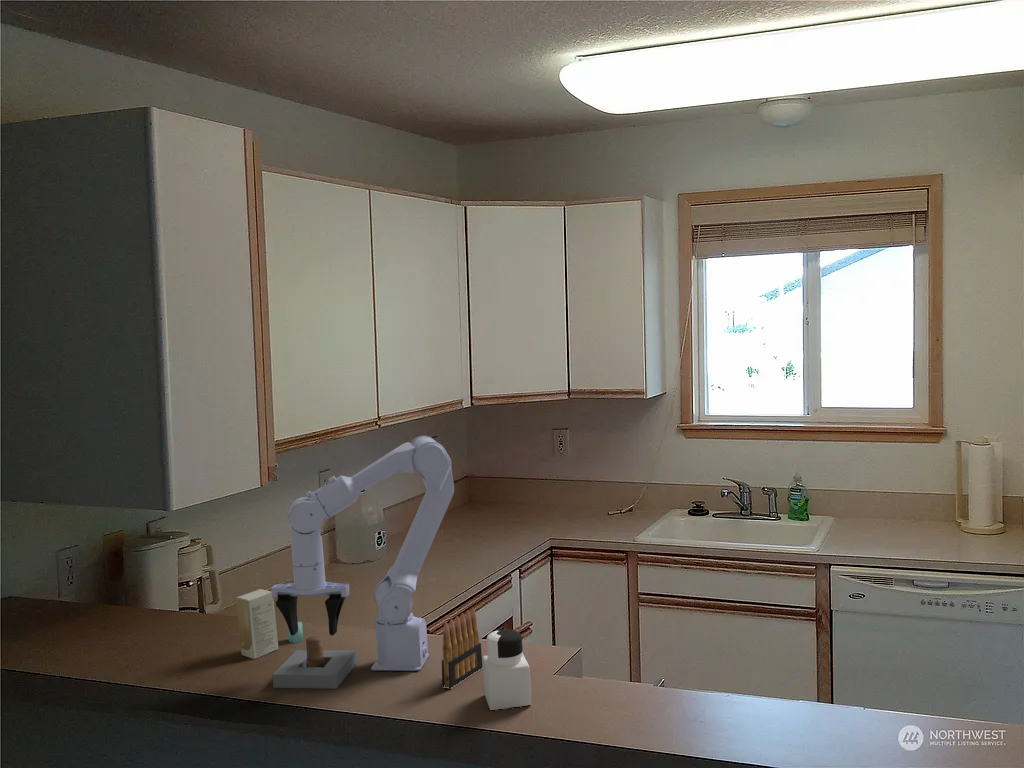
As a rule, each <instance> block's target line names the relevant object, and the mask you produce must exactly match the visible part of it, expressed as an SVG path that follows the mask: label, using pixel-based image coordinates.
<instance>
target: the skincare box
mask: <svg viewBox="0 0 1024 768" xmlns="http://www.w3.org/2000/svg"><path fill="white" fill-rule="evenodd" d="M235 599H236V609H237V620H238V630H239V640H240V651H241V655H242V656H244V657H247V658H249V659H253V660H255V659H258V658H260V657H262V656H264V655H268V654H270V653H272V652H274V651H276V650H279V642H278V629H277V622H276V621H277V619H276V610H275V602H274V601H275V598H272V590H271V591H270V590H266V589H262V588H259V589H256V590H254V591H251V592H247V593H244V594H243V595H239V596H236V598H235Z"/></svg>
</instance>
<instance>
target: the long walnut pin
mask: <svg viewBox="0 0 1024 768" xmlns="http://www.w3.org/2000/svg"><path fill="white" fill-rule="evenodd" d="M305 643H306V644H305V645H306V648H305V650H307V663H308V667H321V668H324V658H323V650H324V646H323V637H322V636H319V635H314V636H309V637H306V639H305Z"/></svg>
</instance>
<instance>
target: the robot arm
mask: <svg viewBox="0 0 1024 768" xmlns="http://www.w3.org/2000/svg"><path fill="white" fill-rule="evenodd" d="M449 455H450V454H448V452H447V451H446V449H445V447H444V446H443V445H442V444H440V443H439V442H437V441H436V440H435V439H434V438H432V437H431V436H428V435H420V436H417V437H415V438H413V439H412V440H411V441H407V442H405V443H404V442H403V444H401V445H399V446H397V447H396V448H394V449H393V450H391V451H390V452H387V453H386V454H384V456H382V457H380V458H379V459H377V460H375V461H373V462H372V463H370V464H369V465H368V466H366V467H364V468H363V469H361V470H360V471H359V472H357V473H355V474H354V475H352V476H345V475H339V476H338V477H335V475H333V476H331V477H330V478H328V482H327V483H326V484H324V485H322V486H320V487H319V488H318V489H316V490H314V491H311V490H310V491H309V490H308V492H306V493H305V495H306V496H305V497H299V498H297V499H295V500H294V501H292V503H290V504H291V505H289V508H288V512H287V517H288V519H289V524H290V525H291V529H290V537H291V539H290V547H291V560H292V570H293V571H292V572H293V583H292V582H291V583H290V582H289V583H283V584H274V585H273V586H272V587H270V590H271V592H272V598H274V599H276V598H277V600H276V601H275V606H276V607H277V609H278V610H279V611H280V612H281V614H282V616H283V618H284V620H285V623H286V626H287V625H288V626H287V629H288V628H289V631H290V634H291V635H295V634H296V633H297V632H298V622H299V621H298V597H328V598H326V599H325V600H324V605H325V608H326V613H327V618H328V633H329V636H335V634H337V632H338V622H339V618H340V614H341V610H342V608H343V605H344V603H345V600H346V598H347V597H348V596H349V595H350V583H340V582H330V581H326V571H325V560H324V559H325V558H324V546H323V537H322V535H321V524H322V523H323V520H328V519H330V518H332V517H333V516H335V515H337V514H338V513H340V512H341V511H344V510H345V509H346V508H349V507H350V506H352V505H353V504H355V503H357V501H358V497H359V495H360V493H361V492H362V491H364V490H366V489H368V488H369V487H371V486H374V485H376V484H377V483H379V482H381V481H383V480H384V479H386V478H388V477H390V476H391V475H393V474H396V473H407V474H409V473H410V474H414V473H415V470H414V468H415V469H416V470H417V471H418V473H419V474H420V476H421V477H420V478H421V479H422V481H423V484H424V485H425V486H424V487H425V488H426V491H425V492H424V496H423V497H422V500H421V502H420V504H419V507H418V510H417V512H416V514H415V516H414V518H413V519H412V523H411V525H410V527H409V529H408V532H407V534H406V537H405V539H404V541H403V543H402V545H401V547H400V550H399V552H398V554H397V557H396V559H395V561H394V563H393V565H392V566H391V567H390V568H389V569H388V570H387V572H386V575H385V576H384V578H383V579H381V581H379V582H378V583H377V584H376V586H375V588H374V591H373V598H374V601H375V603H376V605H377V607H378V610H377V613H376V614H375V617H374V623H375V636H376V637H375V638H376V639H375V640H376V650H377V651H376V652H377V653H376V654H377V655H376V656H377V659H376V661H375V662H374V663H373V665H372V666H371V668H370V669H371V671H404V672H405V671H407V672H408V671H412V672H413V671H415V672H418V671H420V670H421V669H422V667H423V666H424V665H425V662H426V661H427V660H428V658H429V656H430V654H429V649H428V648H429V647H428V633H427V631H428V630H427V622H426V620H425V618H422V617H417V616H414V613H413V606H414V605H413V600H414V599H413V598H414V595H415V592H416V590H417V588H416V587H417V583H418V575H419V573H420V572H421V569H422V567H423V565H424V563H425V560H426V558H427V555H428V553H429V551H430V548H431V547H432V544H433V542H434V539H435V537H436V534H437V532H438V531H439V528H440V525H441V523H442V522H443V519H444V516H445V514H446V512H447V510H448V507H449V505H450V503H451V501H452V498H453V496H454V493H455V484H454V483H455V482H454V478H453V470H452V459H451V457H450V456H449Z"/></svg>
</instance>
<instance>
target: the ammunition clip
mask: <svg viewBox="0 0 1024 768" xmlns="http://www.w3.org/2000/svg"><path fill="white" fill-rule="evenodd" d="M477 619H478V618H477V614H476V610H475V608H474V607H471V610H470V611H469V610H468V609H467V610H466V612H465V614H464V612H462V613H461V615H460V618H459V617H458V615H457V616H456V617H455V619H454V621H453V619H452V618H451V619H450V621H449V623H447V622H444V625H443V629H442V630H443V631H442V659H441V679H442V680H441V684H442V686H443V687H444V685H445V687H449V688H451V687H453V686H454V685H456V684H458V683H459V682H460V681H462V680H464V679H465V678H467V677H468V676H470V675H471V674H473V673H474V672H476V671H478V670H479V669H481V668H482V667H483V660H482V658H483V654H482V653H483V651H482V642H480V635H479V634H480V632H479V628H478V627H479V626H478V620H477Z"/></svg>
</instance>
